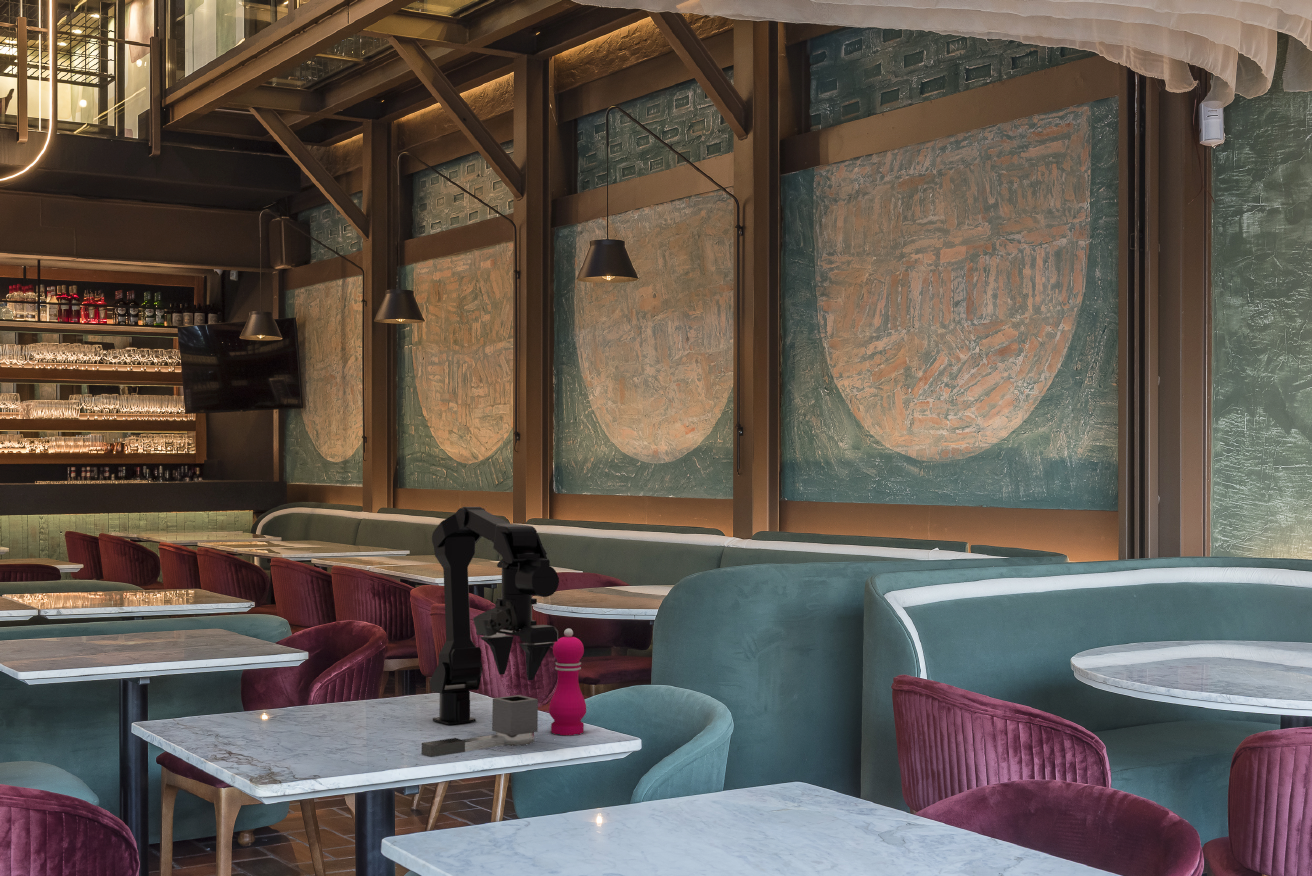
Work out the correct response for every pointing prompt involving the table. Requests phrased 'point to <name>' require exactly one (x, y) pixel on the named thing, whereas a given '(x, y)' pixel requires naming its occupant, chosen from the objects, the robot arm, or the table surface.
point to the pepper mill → (567, 687)
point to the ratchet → (473, 743)
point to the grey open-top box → (515, 715)
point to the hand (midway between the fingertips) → (515, 677)
